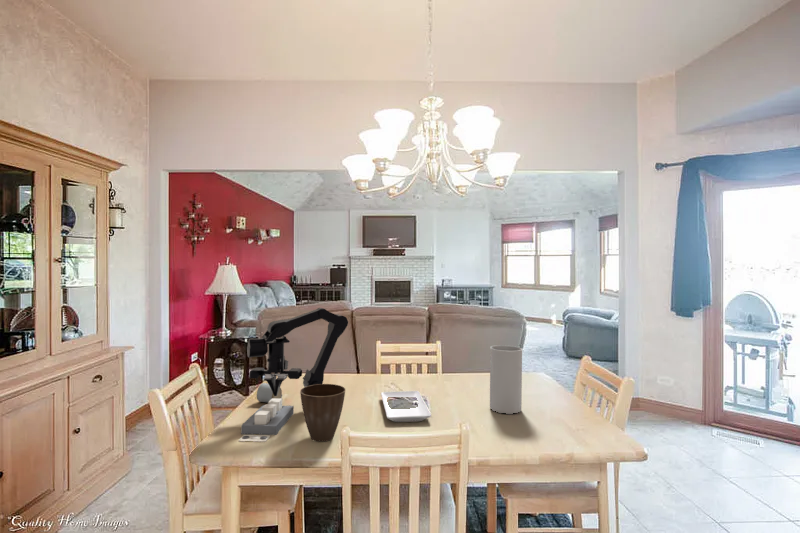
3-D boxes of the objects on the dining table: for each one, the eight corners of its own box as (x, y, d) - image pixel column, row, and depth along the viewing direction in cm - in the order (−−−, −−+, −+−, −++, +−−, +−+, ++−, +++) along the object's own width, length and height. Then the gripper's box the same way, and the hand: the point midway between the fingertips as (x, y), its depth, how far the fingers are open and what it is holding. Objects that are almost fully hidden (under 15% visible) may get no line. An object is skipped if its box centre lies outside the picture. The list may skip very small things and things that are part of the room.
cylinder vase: (526, 409, 171) (527, 348, 171) (511, 417, 162) (512, 352, 162) (499, 402, 180) (500, 344, 180) (483, 409, 170) (484, 348, 171)
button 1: (269, 422, 148) (270, 410, 148) (266, 426, 144) (266, 414, 144) (258, 422, 148) (258, 410, 148) (254, 426, 144) (254, 414, 144)
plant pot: (307, 427, 149) (308, 382, 149) (349, 430, 147) (349, 384, 147) (292, 445, 134) (293, 395, 134) (338, 448, 132) (339, 397, 133)
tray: (386, 426, 152) (386, 416, 152) (380, 399, 184) (380, 391, 184) (432, 424, 154) (432, 415, 154) (418, 398, 185) (418, 390, 185)
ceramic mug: (273, 405, 172) (273, 387, 172) (255, 403, 174) (256, 385, 174) (286, 398, 182) (287, 381, 182) (270, 396, 184) (270, 379, 185)
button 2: (282, 408, 162) (282, 398, 162) (278, 412, 158) (279, 401, 158) (271, 408, 162) (272, 398, 162) (268, 412, 158) (268, 401, 158)
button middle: (276, 415, 155) (276, 404, 155) (272, 419, 151) (272, 408, 151) (265, 415, 155) (265, 404, 155) (261, 418, 151) (261, 407, 151)
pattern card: (270, 436, 141) (270, 434, 141) (265, 441, 136) (265, 440, 136) (244, 435, 141) (244, 434, 141) (238, 441, 137) (238, 439, 137)
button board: (293, 413, 163) (293, 405, 163) (276, 435, 142) (276, 426, 142) (262, 412, 163) (263, 405, 163) (241, 434, 142) (241, 425, 142)
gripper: (305, 351, 168) (305, 390, 168) (259, 350, 168) (259, 389, 168) (298, 356, 157) (297, 398, 157) (248, 356, 157) (248, 397, 157)
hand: (275, 395), depth 160 cm, fingers closed
